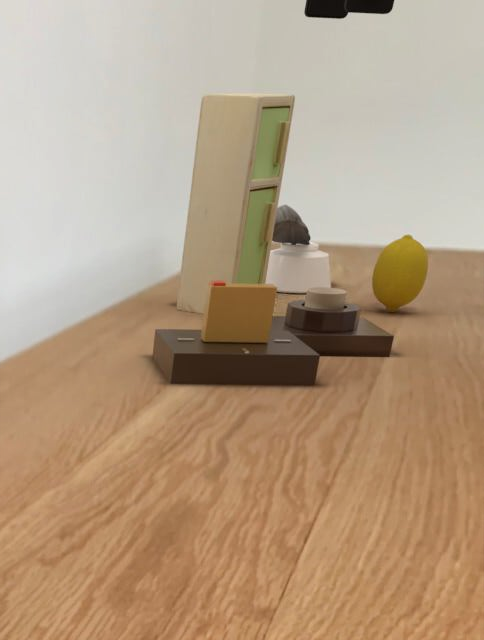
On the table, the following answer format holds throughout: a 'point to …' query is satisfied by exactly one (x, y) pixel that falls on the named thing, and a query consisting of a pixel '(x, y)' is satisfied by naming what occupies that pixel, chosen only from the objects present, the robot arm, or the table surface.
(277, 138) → the toy refrigerator
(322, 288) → the bell button
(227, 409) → the table surface
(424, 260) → the lemon
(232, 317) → the lock knob
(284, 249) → the inkwell
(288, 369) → the plate
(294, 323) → the block
